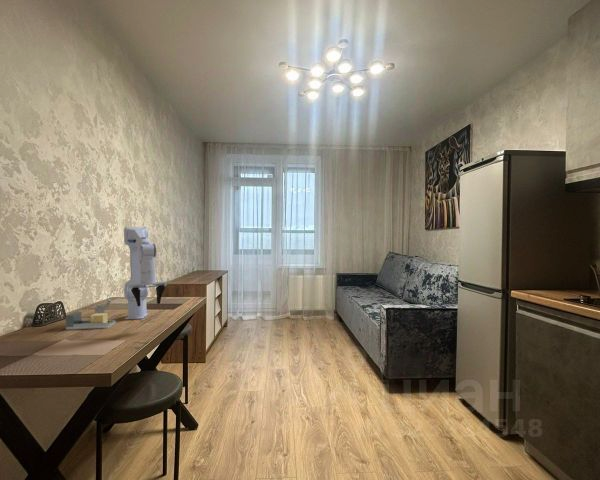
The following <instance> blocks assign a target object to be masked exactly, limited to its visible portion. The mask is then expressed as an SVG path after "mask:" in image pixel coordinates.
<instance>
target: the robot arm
mask: <svg viewBox="0 0 600 480" xmlns="http://www.w3.org/2000/svg"><path fill="white" fill-rule="evenodd" d="M123 241H124V245H126V246H128V249H129V265H130V266H129V269H130V279H129V280H128V281H126V282H125V284H124V290H123V293H124V294H123V295H124V299H125V300H127V316H126V317H125V318H124V320H142V319H144V318H145V317H147V316H148V315H149V312H148V311H147V300H146V298H147V297H148V295H149V288H155V287H156V288H155V291H156V303H157V304H158V305H159V304H161V300H162V296H163V293H164V291H165V290H166V289H165V288H166V287H167V285H168V282H167V281H159V282H158V281H156V262H155V261H156V260H155V259H156V257H157V246H156V244H155V243H151V241H150V239H149V231H148V228H147V226H145V227H138V226H137V227H134V226H133V227H132V226H125V227H124V230H123Z"/></svg>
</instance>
